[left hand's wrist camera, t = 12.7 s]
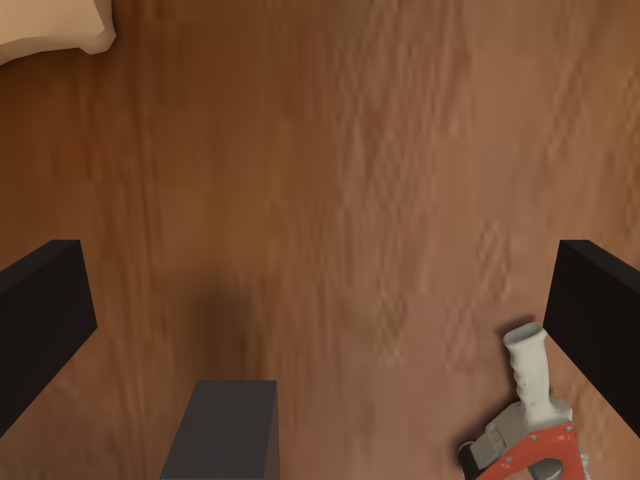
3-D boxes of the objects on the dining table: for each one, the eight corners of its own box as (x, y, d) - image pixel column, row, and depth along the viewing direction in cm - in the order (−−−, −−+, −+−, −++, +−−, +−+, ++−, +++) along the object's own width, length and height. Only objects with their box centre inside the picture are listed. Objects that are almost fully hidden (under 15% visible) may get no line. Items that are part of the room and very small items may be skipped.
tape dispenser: (514, 301, 45) (402, 442, 50) (539, 325, 40) (411, 479, 45) (645, 382, 47) (526, 508, 52) (683, 414, 42) (548, 551, 47)
